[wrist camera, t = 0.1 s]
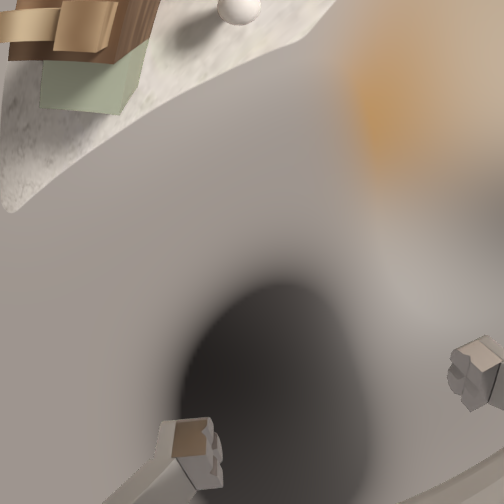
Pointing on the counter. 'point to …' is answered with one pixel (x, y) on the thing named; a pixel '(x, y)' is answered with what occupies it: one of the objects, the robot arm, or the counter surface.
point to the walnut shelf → (120, 42)
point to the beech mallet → (62, 25)
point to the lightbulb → (239, 11)
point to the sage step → (91, 83)
